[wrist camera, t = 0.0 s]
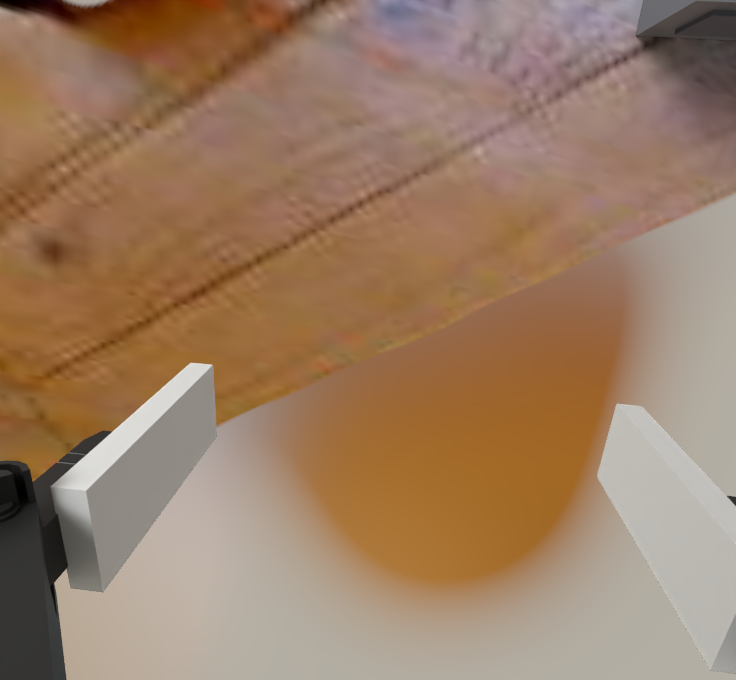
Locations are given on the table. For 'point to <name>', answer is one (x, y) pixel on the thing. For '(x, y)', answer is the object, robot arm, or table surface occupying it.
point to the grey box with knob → (688, 19)
